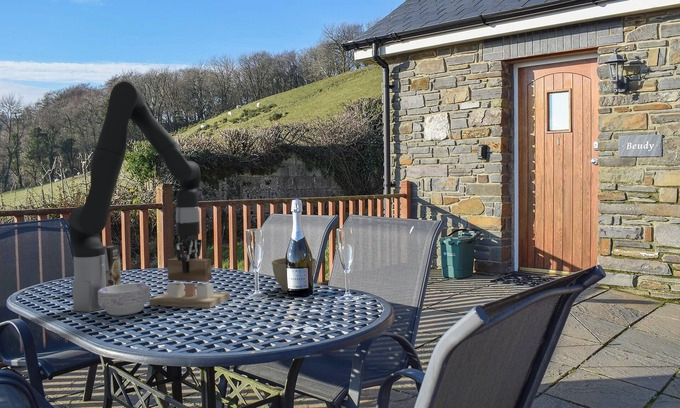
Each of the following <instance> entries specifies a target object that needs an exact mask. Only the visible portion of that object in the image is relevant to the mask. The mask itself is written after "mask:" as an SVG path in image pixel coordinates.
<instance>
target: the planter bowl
mask: <svg viewBox="0 0 680 408" xmlns="http://www.w3.org/2000/svg"><path fill="white" fill-rule="evenodd" d="M286 258H287V257H284V258H283V257H282V258H277V259H274V260H271V265H272V272H273V275H274V278H275V280H276V283H278V284H279V285H278V286H280V288H281V290H282V291H283V292H287V279H286V264H285V259H286ZM311 258H312V260H313V262H312V276H313V277H314V275H315V272H316V263H317V259H316V258H314V257H311Z"/></svg>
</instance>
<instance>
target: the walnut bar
mask: <svg viewBox="0 0 680 408" xmlns="http://www.w3.org/2000/svg"><path fill="white" fill-rule="evenodd" d="M166 264H167V281H170V282H171V281H173V282H199V283H200V282H201V283H207V282H209V281H212V277H213V275H212V259H211V258H198V257H197V258H189V273H183V272H182V262H181V261H178V259H177V257H173V258H169V259H167V263H166Z"/></svg>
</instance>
